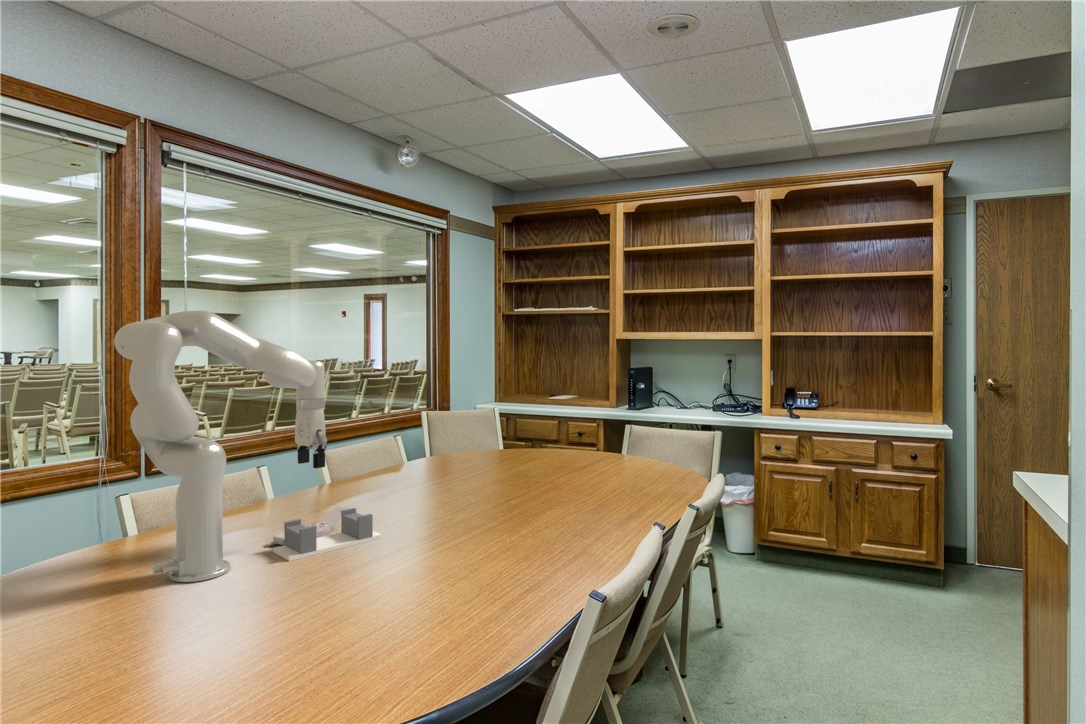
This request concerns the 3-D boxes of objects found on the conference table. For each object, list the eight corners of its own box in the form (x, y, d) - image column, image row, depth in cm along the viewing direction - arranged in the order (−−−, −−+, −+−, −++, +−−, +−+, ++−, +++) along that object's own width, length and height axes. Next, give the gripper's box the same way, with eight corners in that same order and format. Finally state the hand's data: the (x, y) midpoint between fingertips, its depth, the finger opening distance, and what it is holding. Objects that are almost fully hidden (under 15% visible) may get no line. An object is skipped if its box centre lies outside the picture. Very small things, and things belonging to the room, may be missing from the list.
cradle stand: (289, 561, 150) (289, 532, 150) (273, 551, 157) (272, 524, 157) (382, 538, 169) (382, 512, 169) (364, 530, 176) (363, 505, 176)
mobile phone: (353, 507, 180) (279, 528, 159) (353, 527, 180) (279, 550, 159) (339, 505, 183) (264, 525, 162) (339, 524, 183) (264, 547, 162)
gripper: (284, 403, 173) (285, 463, 174) (311, 407, 161) (312, 471, 162) (310, 401, 179) (310, 459, 179) (337, 405, 167) (338, 467, 167)
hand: (311, 465), depth 170 cm, fingers open, 9 cm apart
